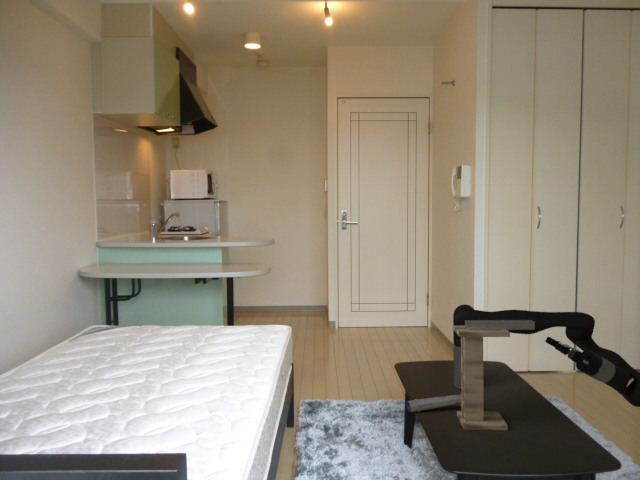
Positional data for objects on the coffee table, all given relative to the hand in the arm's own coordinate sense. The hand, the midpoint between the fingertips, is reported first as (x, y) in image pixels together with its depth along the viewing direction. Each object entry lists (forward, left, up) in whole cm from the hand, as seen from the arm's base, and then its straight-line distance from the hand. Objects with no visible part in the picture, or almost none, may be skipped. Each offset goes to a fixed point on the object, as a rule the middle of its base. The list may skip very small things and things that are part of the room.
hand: (551, 342), depth 165 cm
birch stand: (0, -23, -27) cm, 36 cm away
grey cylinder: (-10, -34, -28) cm, 45 cm away
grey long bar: (0, -17, +5) cm, 18 cm away
